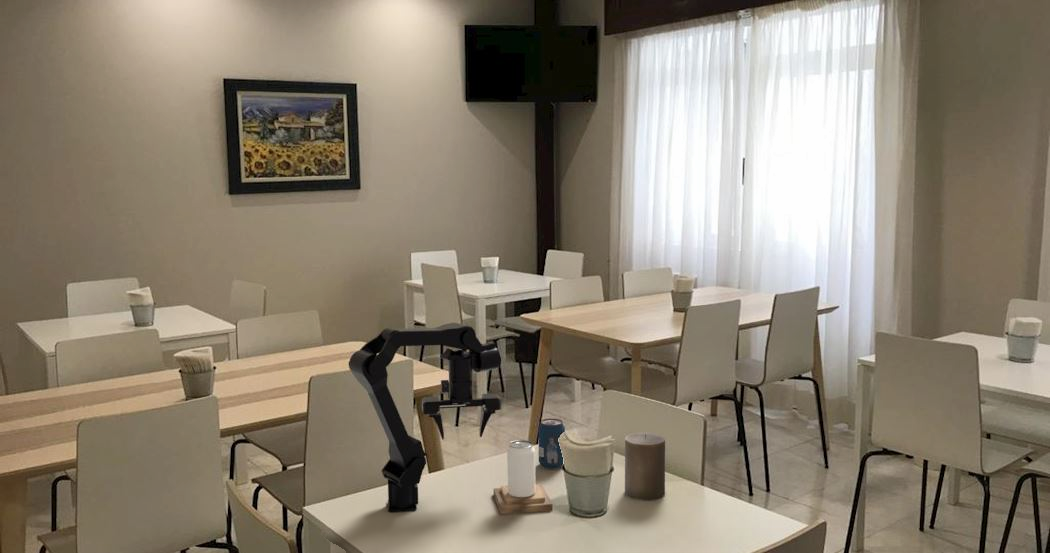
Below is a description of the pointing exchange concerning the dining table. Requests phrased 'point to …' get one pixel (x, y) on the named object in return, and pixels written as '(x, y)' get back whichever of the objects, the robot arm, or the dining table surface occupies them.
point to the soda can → (550, 443)
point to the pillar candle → (645, 466)
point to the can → (521, 469)
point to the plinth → (522, 501)
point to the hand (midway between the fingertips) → (461, 437)
